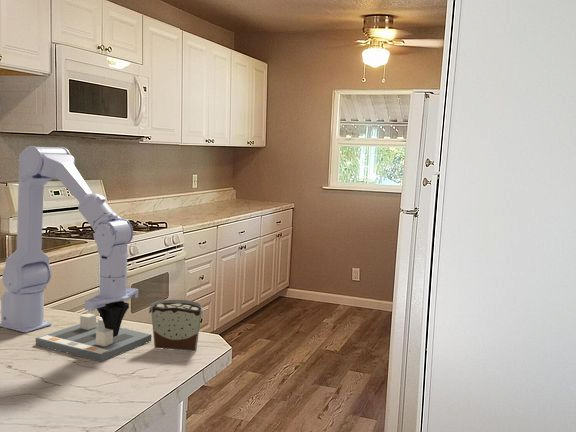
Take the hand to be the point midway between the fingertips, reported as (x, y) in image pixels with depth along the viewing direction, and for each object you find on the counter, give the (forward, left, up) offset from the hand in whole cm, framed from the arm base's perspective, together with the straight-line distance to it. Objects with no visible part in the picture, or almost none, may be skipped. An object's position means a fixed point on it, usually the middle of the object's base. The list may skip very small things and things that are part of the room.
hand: (112, 335), depth 130 cm
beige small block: (-11, +4, -1) cm, 12 cm away
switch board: (-5, 0, -3) cm, 6 cm away
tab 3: (0, -2, -1) cm, 3 cm away
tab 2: (-5, +4, -1) cm, 7 cm away
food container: (+11, +9, -3) cm, 15 cm away
